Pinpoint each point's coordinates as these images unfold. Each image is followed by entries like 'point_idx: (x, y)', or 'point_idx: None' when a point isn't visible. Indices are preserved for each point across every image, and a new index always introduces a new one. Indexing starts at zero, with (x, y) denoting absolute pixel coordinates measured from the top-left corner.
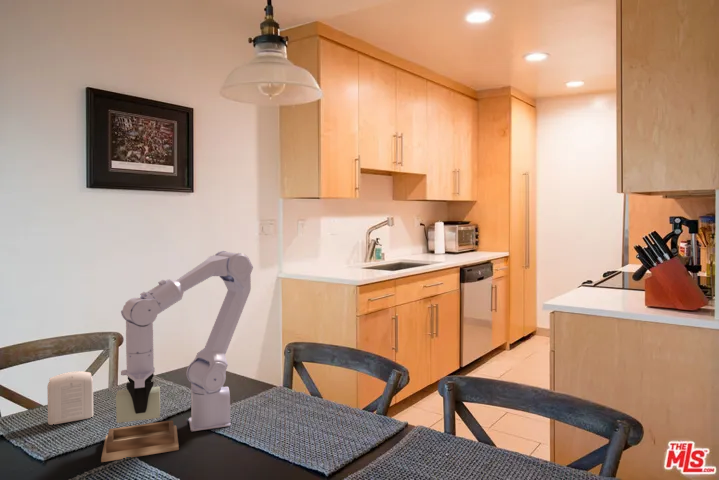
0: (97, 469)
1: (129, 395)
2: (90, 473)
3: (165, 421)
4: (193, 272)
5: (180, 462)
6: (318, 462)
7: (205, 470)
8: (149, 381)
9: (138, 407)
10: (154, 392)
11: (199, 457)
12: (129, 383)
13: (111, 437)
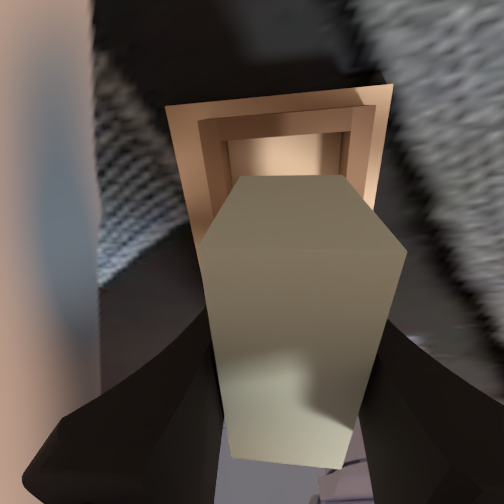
0: (119, 102)
1: (214, 341)
2: (92, 80)
3: None
4: None
5: (147, 308)
6: None
7: (111, 342)
8: (375, 492)
9: None
10: (232, 444)
11: (167, 338)
12: (116, 493)
13: (265, 134)
